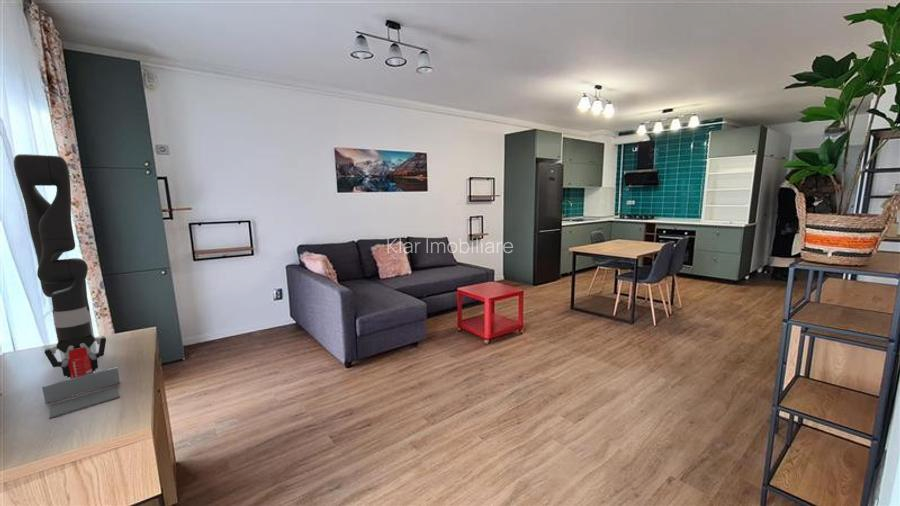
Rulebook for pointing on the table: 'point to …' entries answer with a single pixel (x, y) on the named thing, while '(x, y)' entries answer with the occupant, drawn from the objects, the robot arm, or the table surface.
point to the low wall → (80, 384)
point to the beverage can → (79, 362)
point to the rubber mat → (83, 401)
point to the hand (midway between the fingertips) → (81, 373)
